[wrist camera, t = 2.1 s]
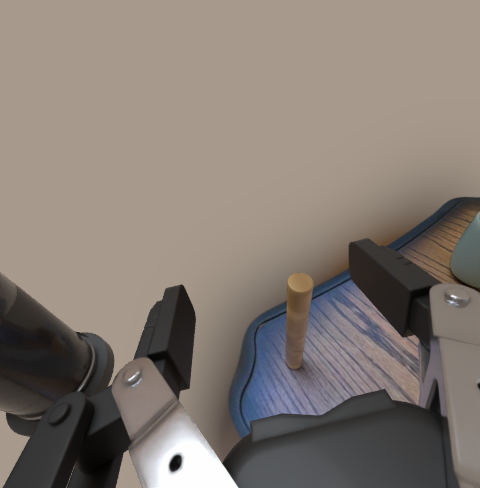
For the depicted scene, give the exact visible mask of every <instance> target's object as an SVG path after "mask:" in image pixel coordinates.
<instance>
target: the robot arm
mask: <svg viewBox="0 0 480 488" xmlns="http://www.w3.org/2000/svg"><path fill="white" fill-rule="evenodd" d="M349 273H350V276H351V279H352V280H353V282H354V283H355V284H356V285H357V286H358V288H359V289H360V290H361V291H362V292H363V293H364V294H365V295H366V297H367V298H368V299H369V300H370V301H371V302H372V303H373V305H374V306H375V307H376V308H377V309H378V310H379V311H380V312H381V314H382V315H383V316H384V317H385V318H386V319H387V320H388V321H389V323H390V324H391V325H392V326H393V327H394V328H395V329H396V330H397V332H398V333H399V334H400V335H401V336H402V337H403V338H404V337H408V336H412V335H416V336H417V337H418V339H419V343H418V352H419V380H420V395H419V405H418V406H417V405H414V404H410V403H407V402H402V401H396V400H392V399H391V397H390V396H389V394H388V393H387V391H386V390H385V389H383V390H379V391H375V392H370V393H366V394H362V395H358V396H354V397H351V398H349V399H348V400H346V401H344V402H343V403H341V404H339V405H338V406H336V407H335V408H333V409H331V410H330V411H328V412H326V413H325V414H323V415H319V416H315V415H299V414H279V415H274V416H270V417H266V418H262V419H258V420H253V421H250V428H251V433H250V434H249V435H247V436H245V437H244V438H243V439H242V440H241V441H239V443H237V444H236V445H235V446H234V448H233V449H232V450H231V451H230V452H229V454H228V455H227V456H226V458H225V459H224V461H223V463H221V462H220V460H219V459H218V457H217V456H216V454H215V453H214V451H213V450H212V448H211V447H210V445H209V444H208V442H207V441H206V440H205V438H204V437H203V436H202V434H201V432H200V431H199V429H198V428H197V426H196V425H195V424H194V422H193V420H192V419H191V417H190V416H189V415H188V414H187V412H186V410H185V409H184V407H183V406H182V404H181V403H180V401H179V394H180V391H181V390H186V389H189V388H190V377H191V366H192V355H193V345H194V333H195V323H196V317H195V311H194V308H193V306H192V303H191V301H190V299H189V297H188V294H187V292H186V290H185V288H184V286H183V285H178V286H174V287H170V288H166V289H165V292H164V296H163V299H162V301H158V302H156V304H155V305H154V306H153V308H152V309H151V310H150V312H149V316H148V318H147V322H146V324H145V327H144V330H143V333H142V336H141V339H140V342H139V345H138V348H137V351H136V353H135V356H134V359H133V361H131V362H129V363H128V364H126V365H125V366H124V367H123V368H122V369H121V370H120V371H119V372H118V374H117V375H116V377H115V379H114V381H113V383H112V385H110V386H108V387H107V388H105V389H103V390H101V391H99V392H97V393H96V394H94V395H92V396H90V397H88V398H87V397H86V396H85V395H84V394H83V392H84V390H85V389H86V388H87V386H88V384H89V383H90V381H91V379H92V377H93V375H94V373H95V370H96V366H97V360H98V357H97V351H96V349H95V347H94V346H93V345H92V344H91V343H90V342H88V341H87V340H85V339H83V338H82V337H81V336H84V337H88V336H87V335H85V334H84V333H80V332H75V331H73V330H72V329H71V328H70V327H68V326H67V325H66V324H65V323H63V322H62V321H61V320H60V319H58V318H57V317H56V316H55V315H53V314H52V313H51V312H50V311H48V310H47V309H46V308H45V307H43V306H42V305H41V304H40V303H38V302H37V301H36V300H35V299H33V298H32V297H31V296H29V295H28V294H27V293H26V292H25V291H23V290H22V289H21V288H20V287H18V286H17V285H16V284H15V283H13V282H12V281H11V280H9V279H8V278H7V277H6V276H4V275H3V274H2V273H1V272H0V410H1V411H5V412H8V413H11V414H14V415H17V416H18V417H20V418H23V419H26V420H29V421H39V422H38V424H37V426H36V428H35V429H34V431H33V433H32V435H31V437H30V439H29V440H28V442H27V444H26V446H25V448H24V450H23V451H22V453H21V455H20V457H19V459H18V461H17V462H16V464H15V466H14V468H13V470H12V472H11V473H10V475H9V477H8V479H7V481H6V483H5V485H4V486H3V488H66V487H67V488H116V484H117V479H118V475H119V471H120V466H121V462H122V458H123V453H124V452H125V451H127V450H129V453H130V456H131V459H132V462H133V465H134V467H135V470H136V473H137V475H138V478H139V481H140V483H141V486H142V488H480V293H479V292H477V291H476V290H474V289H471V288H469V287H466V286H463V285H459V284H453V283H441V282H440V281H438V280H437V279H436V278H434V277H433V276H431V275H430V274H428V273H427V272H426V271H424V270H423V269H421V268H420V267H418V266H417V265H415V264H412V262H411V261H410V260H408V259H407V258H404V256H403V255H401V254H400V253H398V252H397V251H395V250H393V249H390V248H387V247H385V246H378V245H377V244H375V243H374V242H372V241H371V240H370V239H367V238H366V239H362V240H359V241H354V242H351V243H350V244H349ZM79 335H80V336H79ZM74 466H75V467H74ZM73 468H74V469H73ZM72 470H73V472H72ZM71 473H72V475H71ZM70 476H71V477H70ZM69 478H70V480H69ZM68 481H69V483H68ZM67 484H68V486H67Z"/></svg>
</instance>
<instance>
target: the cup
mask: <svg viewBox="0 0 480 488" xmlns="http://www.w3.org/2000/svg"><path fill="white" fill-rule="evenodd" d="M450 269H451V271H452V273H453V274H454V275H455V276H456V277H457V278H458V279H459V280H461V281H462V282H464V283H466V284H468V285H470V286H473V287H476V288H479V289H480V212H479V213H478V214H477V215H476V216H475V217H474V218H473V220H472V221H471V223H470V224H469V225H468V227H467V228H466V230H465V231H464V233H463V234H462V236H461V237H460V239H459V241H458V242H457V244H456V246H455V248H454V250H453V252H452V254H451V257H450Z"/></svg>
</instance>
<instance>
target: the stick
mask: <svg viewBox="0 0 480 488" xmlns="http://www.w3.org/2000/svg"><path fill="white" fill-rule="evenodd" d="M312 291H313V280H312V279H311V277H310V276H308V275H307V274H304V273H295V274H292V275H291V276H290V277H289V279H288V287H287V325H286V364H287V366H288V367H289V368H291V369H298V368H300V367H301V365H302V359H303V352H304V345H305V338H306V331H307V325H308V318H309V311H310V304H311V297H312Z"/></svg>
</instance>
